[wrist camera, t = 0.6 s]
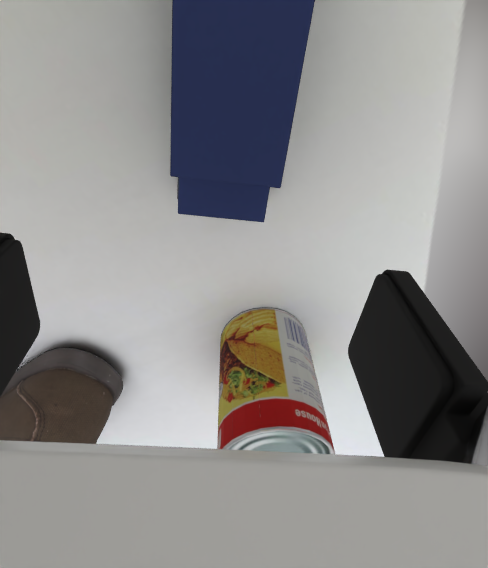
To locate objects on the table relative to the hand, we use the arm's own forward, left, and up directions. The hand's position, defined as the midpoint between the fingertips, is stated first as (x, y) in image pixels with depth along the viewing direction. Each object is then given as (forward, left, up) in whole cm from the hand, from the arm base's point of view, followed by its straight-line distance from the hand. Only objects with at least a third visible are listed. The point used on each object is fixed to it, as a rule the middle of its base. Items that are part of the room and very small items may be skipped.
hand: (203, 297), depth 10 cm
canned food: (+17, +6, -18) cm, 25 cm away
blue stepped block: (-4, +1, -17) cm, 18 cm away
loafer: (+30, -19, -18) cm, 40 cm away
